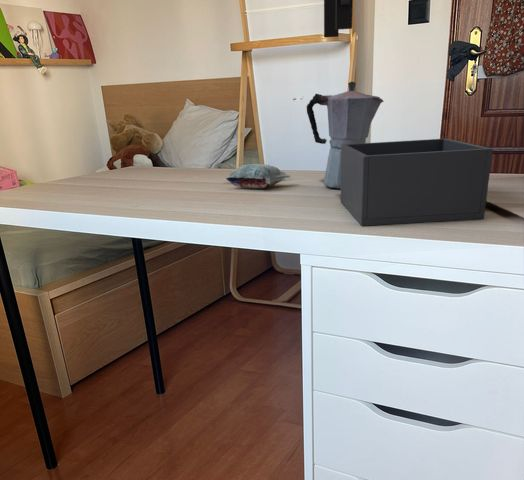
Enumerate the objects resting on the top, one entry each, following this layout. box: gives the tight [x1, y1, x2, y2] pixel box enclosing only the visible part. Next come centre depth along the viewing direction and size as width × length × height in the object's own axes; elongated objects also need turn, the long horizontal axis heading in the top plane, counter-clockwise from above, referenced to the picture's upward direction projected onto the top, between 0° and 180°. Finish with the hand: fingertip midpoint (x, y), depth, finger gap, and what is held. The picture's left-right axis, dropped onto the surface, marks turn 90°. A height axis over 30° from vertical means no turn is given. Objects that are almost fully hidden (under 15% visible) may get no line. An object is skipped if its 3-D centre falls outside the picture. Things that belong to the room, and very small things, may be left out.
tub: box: [340, 138, 494, 227], centre depth 86 cm, size 19×20×10 cm
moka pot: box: [306, 81, 384, 190], centre depth 108 cm, size 10×15×20 cm, turn 80°
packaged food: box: [225, 163, 291, 189], centre depth 117 cm, size 9×12×5 cm
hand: (337, 33), depth 96 cm, fingers open, 13 cm apart
